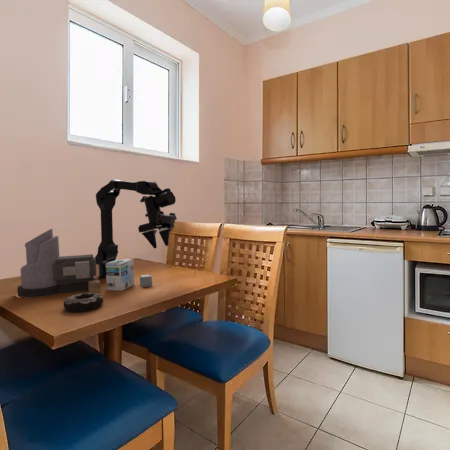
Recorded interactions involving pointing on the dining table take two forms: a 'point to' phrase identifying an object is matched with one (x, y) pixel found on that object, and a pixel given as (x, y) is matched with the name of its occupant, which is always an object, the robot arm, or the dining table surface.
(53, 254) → the grey boxy piece
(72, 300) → the donut
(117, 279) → the light bulb box
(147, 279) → the grey marked block
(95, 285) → the walnut marked block
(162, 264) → the dining table surface
